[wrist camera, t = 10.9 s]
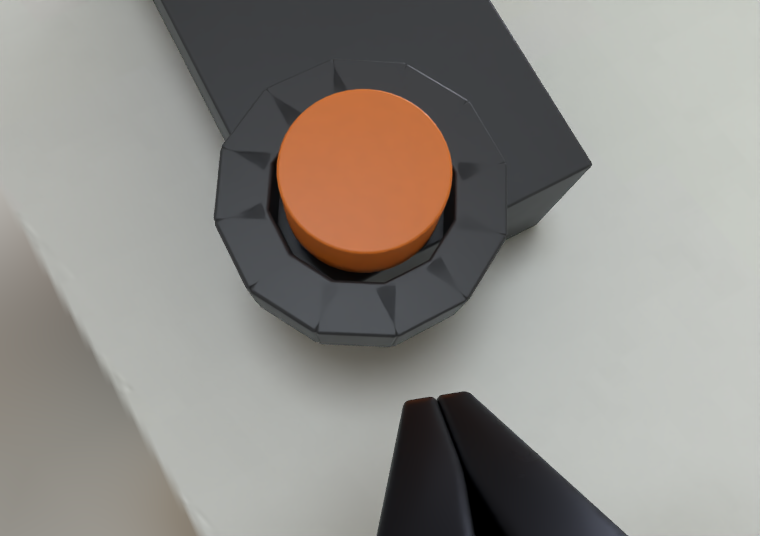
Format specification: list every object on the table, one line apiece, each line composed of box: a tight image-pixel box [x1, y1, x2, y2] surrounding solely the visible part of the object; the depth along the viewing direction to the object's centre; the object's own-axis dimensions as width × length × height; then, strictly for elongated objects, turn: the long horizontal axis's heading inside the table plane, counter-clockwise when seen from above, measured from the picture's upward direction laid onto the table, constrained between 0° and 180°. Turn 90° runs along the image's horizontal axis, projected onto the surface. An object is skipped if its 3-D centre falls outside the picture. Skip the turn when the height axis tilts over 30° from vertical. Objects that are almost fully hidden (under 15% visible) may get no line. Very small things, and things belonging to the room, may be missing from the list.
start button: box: [277, 89, 453, 273], centre depth 15 cm, size 4×4×2 cm
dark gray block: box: [153, 0, 592, 347], centre depth 20 cm, size 9×18×7 cm, turn 28°
